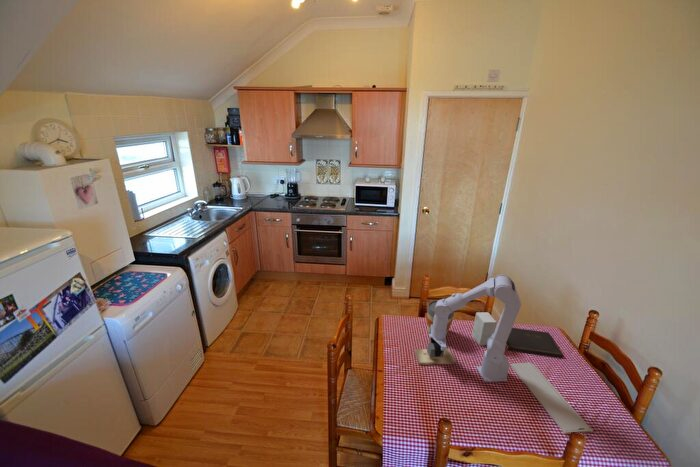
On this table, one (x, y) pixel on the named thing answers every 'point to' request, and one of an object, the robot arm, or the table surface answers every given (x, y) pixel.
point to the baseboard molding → (551, 399)
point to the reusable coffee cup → (431, 314)
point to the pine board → (425, 360)
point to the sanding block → (433, 351)
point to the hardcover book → (532, 343)
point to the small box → (483, 327)
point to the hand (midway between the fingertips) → (435, 352)
